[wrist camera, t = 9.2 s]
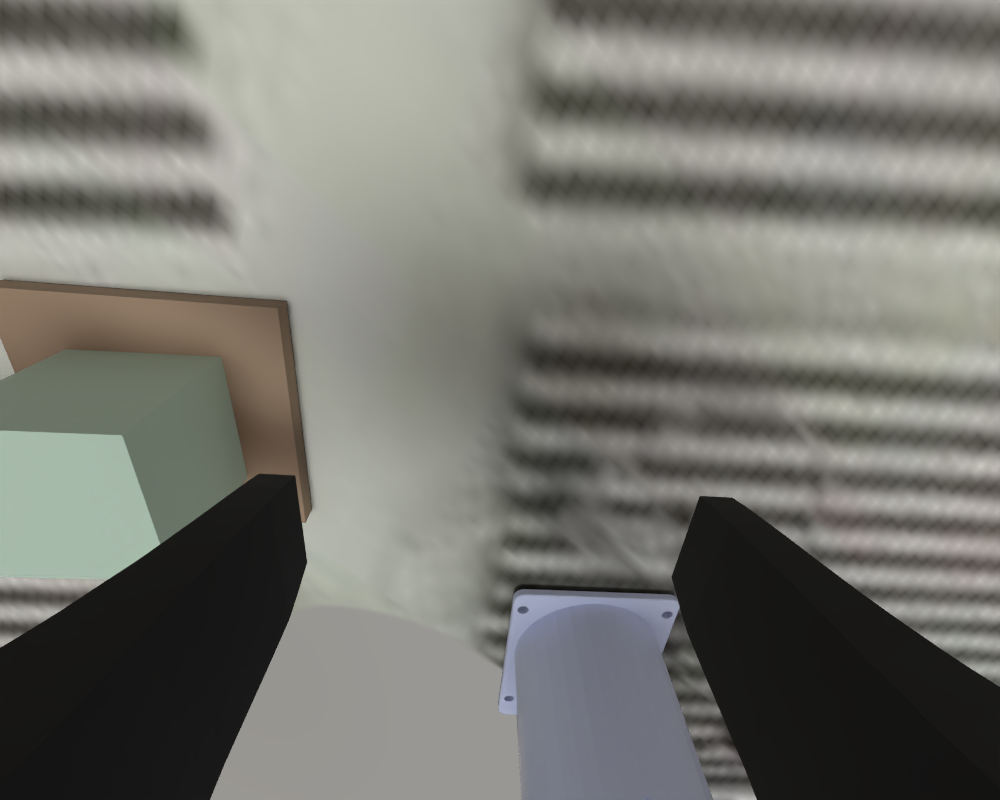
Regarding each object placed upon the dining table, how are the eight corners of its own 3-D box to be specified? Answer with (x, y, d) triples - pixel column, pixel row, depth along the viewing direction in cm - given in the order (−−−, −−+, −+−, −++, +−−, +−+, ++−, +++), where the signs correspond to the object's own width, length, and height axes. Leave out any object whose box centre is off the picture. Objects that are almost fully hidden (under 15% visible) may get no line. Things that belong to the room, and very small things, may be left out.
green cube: (247, 477, 18) (172, 580, 14) (112, 472, 18) (-8, 576, 14) (221, 356, 16) (122, 435, 12) (65, 349, 16) (-97, 426, 11)
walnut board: (311, 509, 20) (305, 522, 20) (87, 498, 20) (72, 512, 19) (286, 301, 16) (277, 308, 15) (2, 280, 16) (-22, 286, 15)
